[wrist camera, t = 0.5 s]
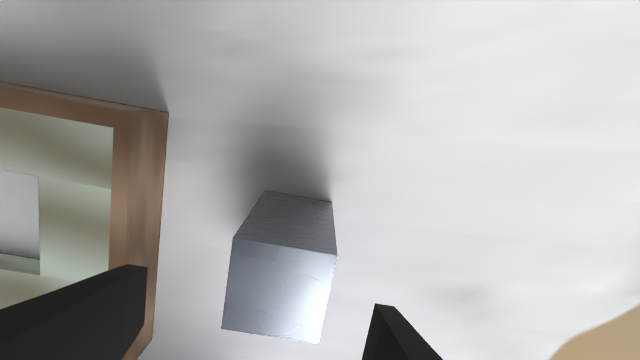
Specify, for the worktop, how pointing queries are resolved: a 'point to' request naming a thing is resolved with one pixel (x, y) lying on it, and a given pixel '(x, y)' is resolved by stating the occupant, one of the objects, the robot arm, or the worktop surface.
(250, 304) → the charcoal peg
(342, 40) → the worktop surface
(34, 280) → the walnut box
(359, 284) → the worktop surface
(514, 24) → the worktop surface
